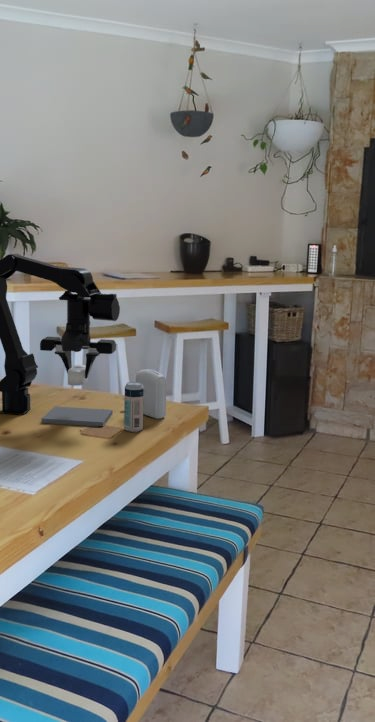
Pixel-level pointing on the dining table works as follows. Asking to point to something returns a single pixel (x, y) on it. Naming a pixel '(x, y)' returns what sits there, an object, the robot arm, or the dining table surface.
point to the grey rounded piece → (77, 375)
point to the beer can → (133, 407)
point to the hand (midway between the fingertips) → (78, 377)
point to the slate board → (77, 416)
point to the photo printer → (153, 393)
